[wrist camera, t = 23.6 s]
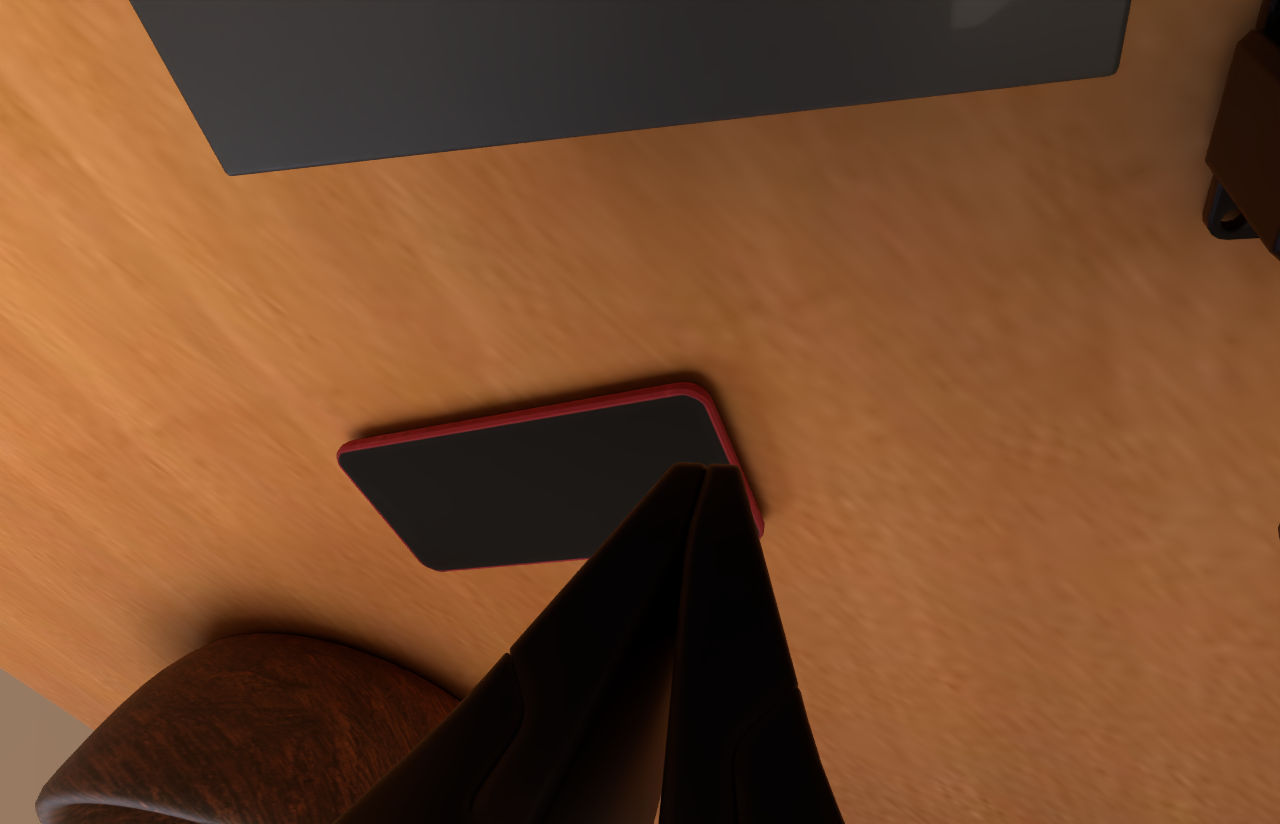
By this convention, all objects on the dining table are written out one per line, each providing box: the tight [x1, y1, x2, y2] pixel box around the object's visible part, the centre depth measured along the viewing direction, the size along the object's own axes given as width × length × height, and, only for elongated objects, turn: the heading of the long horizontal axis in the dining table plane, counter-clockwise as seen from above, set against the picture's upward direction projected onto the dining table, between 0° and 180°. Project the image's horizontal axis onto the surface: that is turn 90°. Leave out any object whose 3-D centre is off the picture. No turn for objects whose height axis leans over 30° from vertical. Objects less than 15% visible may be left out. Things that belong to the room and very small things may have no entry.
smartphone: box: [337, 382, 764, 572], centre depth 29 cm, size 7×1×15 cm
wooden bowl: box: [35, 633, 460, 824], centre depth 45 cm, size 25×25×10 cm
